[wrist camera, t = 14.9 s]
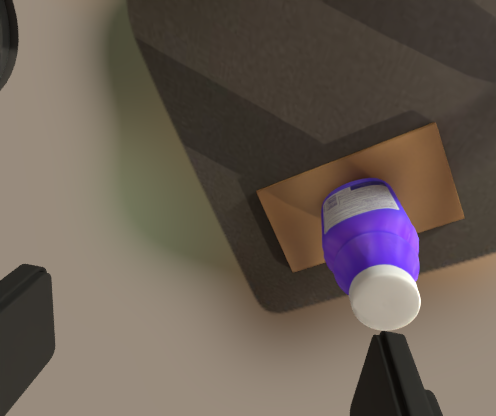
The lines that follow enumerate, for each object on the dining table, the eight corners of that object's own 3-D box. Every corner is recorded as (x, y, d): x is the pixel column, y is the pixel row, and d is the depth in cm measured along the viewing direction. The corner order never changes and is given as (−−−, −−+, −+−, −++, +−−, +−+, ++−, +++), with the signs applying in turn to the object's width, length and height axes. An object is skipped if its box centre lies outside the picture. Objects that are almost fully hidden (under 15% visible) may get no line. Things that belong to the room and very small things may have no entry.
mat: (292, 270, 44) (292, 272, 44) (256, 190, 42) (256, 192, 41) (462, 215, 40) (464, 218, 39) (434, 121, 37) (436, 122, 36)
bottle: (332, 240, 42) (346, 356, 26) (312, 192, 40) (313, 283, 24) (402, 216, 40) (464, 325, 24) (383, 165, 38) (436, 244, 22)
